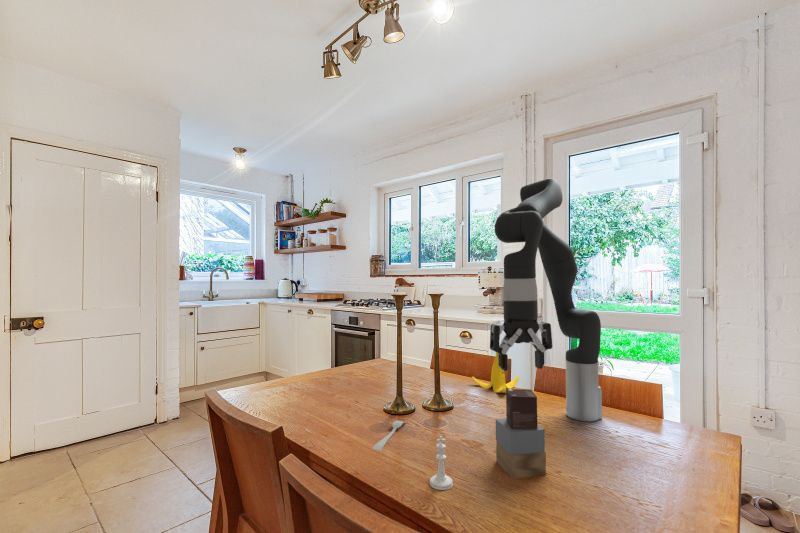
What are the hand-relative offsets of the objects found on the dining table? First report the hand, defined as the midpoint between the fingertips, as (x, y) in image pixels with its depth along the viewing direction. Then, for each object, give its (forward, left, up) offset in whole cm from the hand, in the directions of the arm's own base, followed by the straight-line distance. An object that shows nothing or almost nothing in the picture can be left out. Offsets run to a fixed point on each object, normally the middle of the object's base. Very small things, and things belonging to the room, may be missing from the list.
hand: (521, 369), depth 89 cm
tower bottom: (0, -1, -23) cm, 23 cm away
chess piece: (+20, +3, -23) cm, 31 cm away
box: (0, 0, -13) cm, 13 cm away
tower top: (0, -1, -18) cm, 18 cm away
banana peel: (-19, -62, -23) cm, 69 cm away
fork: (+27, -24, -23) cm, 43 cm away
